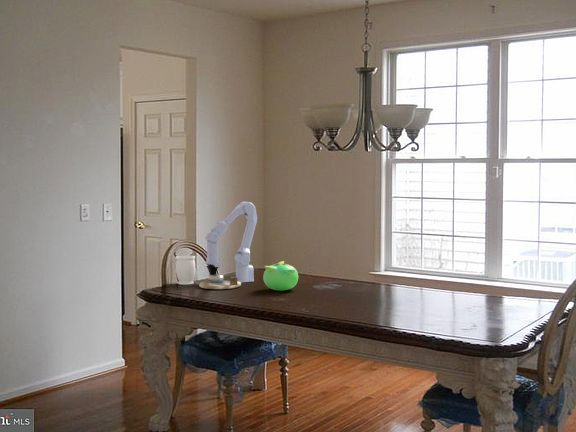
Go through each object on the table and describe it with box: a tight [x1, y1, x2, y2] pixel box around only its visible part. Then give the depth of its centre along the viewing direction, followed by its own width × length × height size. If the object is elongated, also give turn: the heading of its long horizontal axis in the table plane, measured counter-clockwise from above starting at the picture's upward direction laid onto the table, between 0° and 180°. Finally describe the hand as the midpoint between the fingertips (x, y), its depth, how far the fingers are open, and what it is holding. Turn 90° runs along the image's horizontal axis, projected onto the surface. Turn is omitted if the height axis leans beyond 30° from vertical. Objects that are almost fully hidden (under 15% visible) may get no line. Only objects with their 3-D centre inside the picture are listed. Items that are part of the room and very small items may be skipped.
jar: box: [175, 254, 196, 286], centre depth 391 cm, size 11×10×15 cm
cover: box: [208, 273, 225, 283], centre depth 386 cm, size 8×8×4 cm
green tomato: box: [262, 260, 299, 292], centre depth 367 cm, size 18×17×15 cm
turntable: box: [198, 276, 242, 290], centre depth 381 cm, size 22×22×5 cm
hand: (212, 278), depth 391 cm, fingers closed
